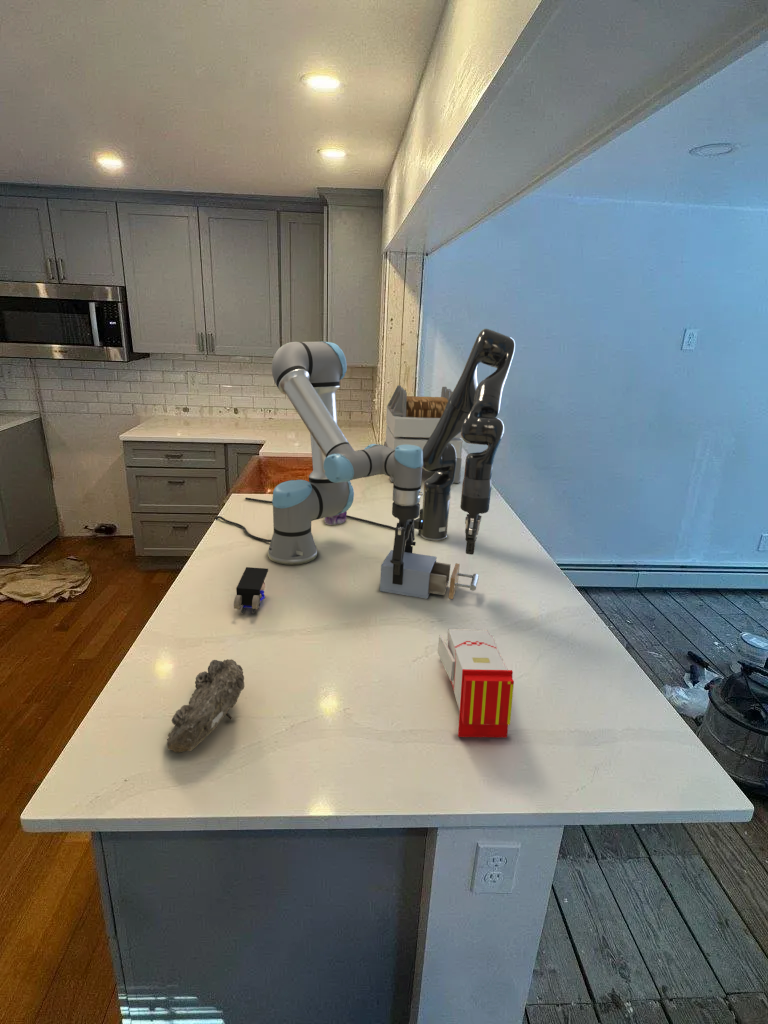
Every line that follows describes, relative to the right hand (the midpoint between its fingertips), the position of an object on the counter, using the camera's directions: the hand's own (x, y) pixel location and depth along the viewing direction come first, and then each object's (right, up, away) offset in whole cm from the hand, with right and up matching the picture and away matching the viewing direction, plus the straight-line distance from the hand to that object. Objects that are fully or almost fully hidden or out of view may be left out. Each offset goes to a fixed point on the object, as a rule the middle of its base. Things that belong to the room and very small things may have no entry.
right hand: (469, 553), depth 154 cm
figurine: (-41, +8, +54) cm, 69 cm away
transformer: (-6, +30, +120) cm, 124 cm away
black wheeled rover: (-58, -13, -5) cm, 60 cm away
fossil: (-56, -28, -46) cm, 78 cm away
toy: (-5, -26, -36) cm, 45 cm away
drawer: (-7, -11, +5) cm, 14 cm away
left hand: (-18, -7, +7) cm, 21 cm away
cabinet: (-17, -10, +8) cm, 21 cm away
